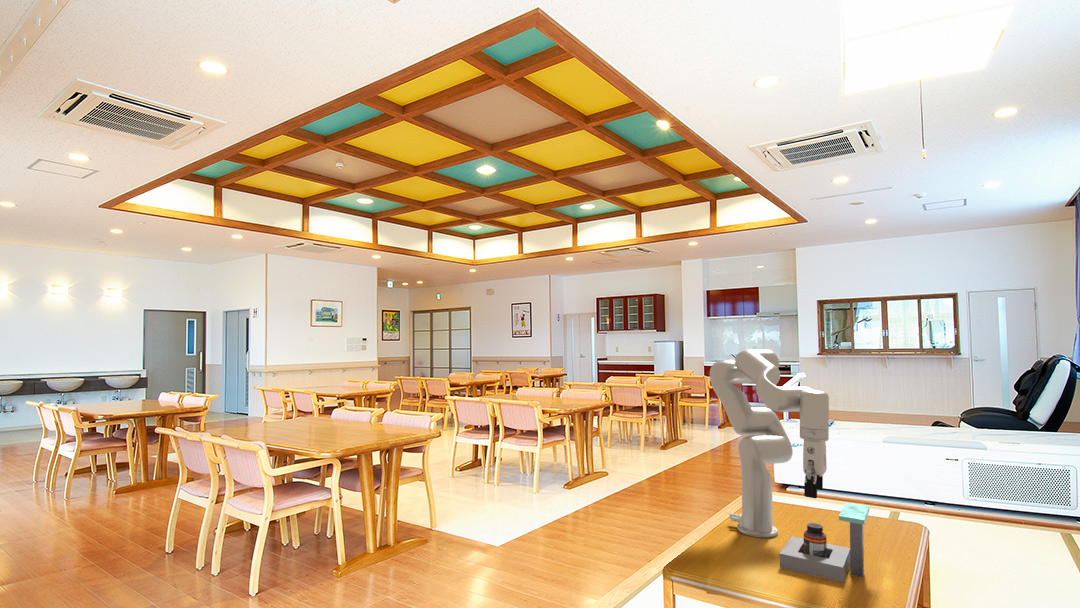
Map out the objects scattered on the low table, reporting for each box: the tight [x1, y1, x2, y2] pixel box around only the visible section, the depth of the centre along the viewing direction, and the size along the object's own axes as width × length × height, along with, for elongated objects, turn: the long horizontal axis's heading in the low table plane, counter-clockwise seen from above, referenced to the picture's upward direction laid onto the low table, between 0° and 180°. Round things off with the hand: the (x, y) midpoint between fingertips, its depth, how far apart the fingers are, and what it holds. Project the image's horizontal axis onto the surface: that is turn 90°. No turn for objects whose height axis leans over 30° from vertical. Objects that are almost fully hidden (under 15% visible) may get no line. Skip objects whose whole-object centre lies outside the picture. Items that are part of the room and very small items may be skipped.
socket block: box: [779, 536, 850, 583], centre depth 164 cm, size 16×16×4 cm
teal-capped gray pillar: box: [838, 502, 870, 578], centre depth 158 cm, size 6×14×17 cm, turn 145°
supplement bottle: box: [803, 522, 828, 558], centre depth 164 cm, size 6×6×11 cm
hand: (813, 492), depth 165 cm, fingers open, 9 cm apart
